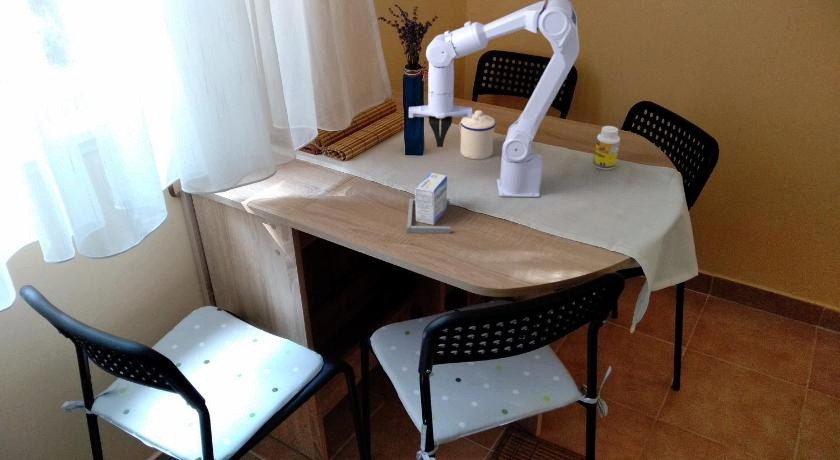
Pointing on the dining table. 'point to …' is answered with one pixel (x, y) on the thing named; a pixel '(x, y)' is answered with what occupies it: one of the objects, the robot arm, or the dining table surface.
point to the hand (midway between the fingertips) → (439, 145)
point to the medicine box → (431, 198)
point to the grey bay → (424, 228)
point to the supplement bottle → (606, 148)
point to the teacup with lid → (477, 136)
